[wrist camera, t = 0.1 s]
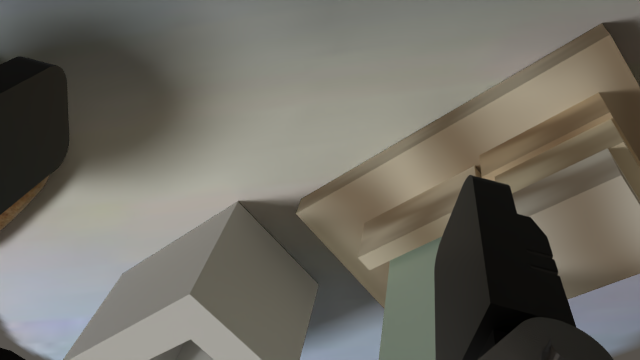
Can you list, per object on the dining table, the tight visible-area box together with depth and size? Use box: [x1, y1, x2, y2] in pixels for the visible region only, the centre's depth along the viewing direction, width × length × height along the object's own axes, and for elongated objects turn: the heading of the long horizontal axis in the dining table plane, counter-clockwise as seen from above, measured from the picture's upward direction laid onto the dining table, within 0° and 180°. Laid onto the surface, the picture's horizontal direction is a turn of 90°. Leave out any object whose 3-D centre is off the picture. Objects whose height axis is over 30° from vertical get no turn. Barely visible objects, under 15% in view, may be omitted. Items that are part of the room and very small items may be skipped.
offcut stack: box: [479, 93, 640, 299], centre depth 25 cm, size 6×6×6 cm
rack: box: [296, 23, 640, 309], centre depth 29 cm, size 18×10×4 cm, turn 129°
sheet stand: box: [63, 202, 319, 360], centre depth 35 cm, size 12×8×8 cm, turn 129°
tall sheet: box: [379, 237, 442, 360], centre depth 25 cm, size 5×2×14 cm, turn 129°
